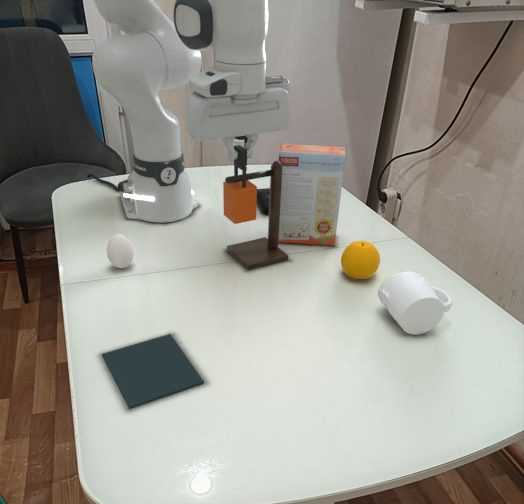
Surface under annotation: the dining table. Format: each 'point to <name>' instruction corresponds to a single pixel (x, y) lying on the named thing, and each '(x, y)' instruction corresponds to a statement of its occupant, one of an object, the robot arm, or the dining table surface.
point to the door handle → (263, 199)
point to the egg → (120, 251)
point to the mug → (414, 302)
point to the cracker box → (310, 193)
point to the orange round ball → (360, 260)
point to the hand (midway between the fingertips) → (240, 158)
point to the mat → (151, 370)
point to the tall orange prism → (240, 193)
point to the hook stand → (263, 248)
